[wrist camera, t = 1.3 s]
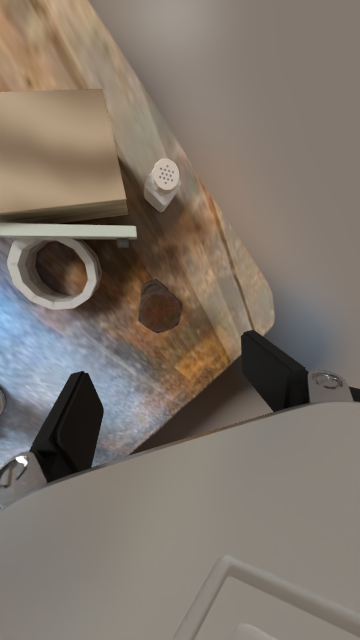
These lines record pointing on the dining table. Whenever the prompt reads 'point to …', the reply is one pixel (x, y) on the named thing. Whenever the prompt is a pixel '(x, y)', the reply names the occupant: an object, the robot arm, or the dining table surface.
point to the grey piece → (67, 235)
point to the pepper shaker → (162, 184)
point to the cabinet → (57, 164)
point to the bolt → (158, 307)
